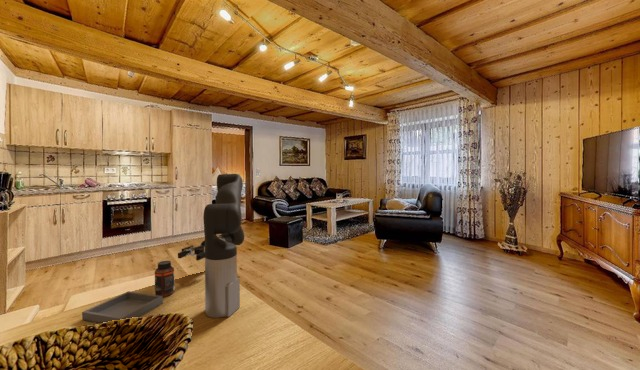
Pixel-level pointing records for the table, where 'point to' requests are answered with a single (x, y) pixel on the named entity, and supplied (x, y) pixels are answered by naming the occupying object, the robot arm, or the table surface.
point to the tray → (122, 307)
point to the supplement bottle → (164, 279)
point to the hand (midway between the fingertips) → (187, 256)
